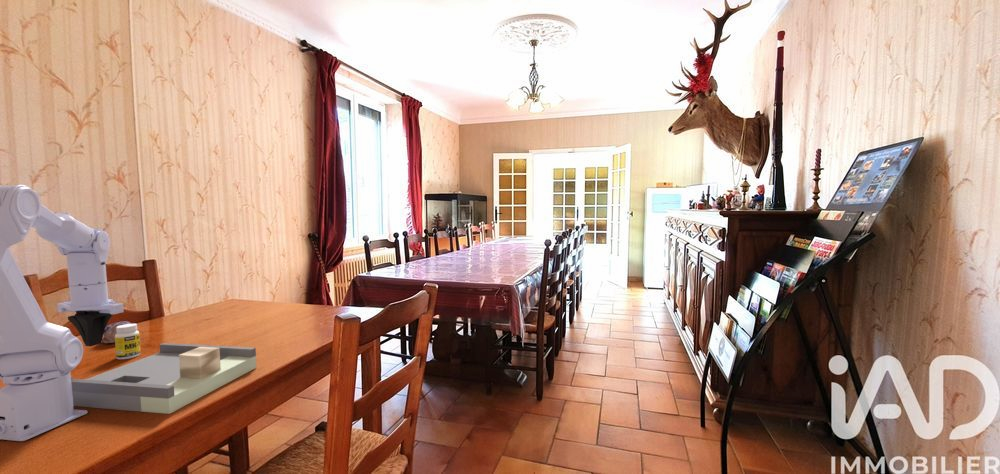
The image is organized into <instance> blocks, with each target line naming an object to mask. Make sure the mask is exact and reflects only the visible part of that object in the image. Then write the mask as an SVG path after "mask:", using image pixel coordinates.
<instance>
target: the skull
mask: <svg viewBox="0 0 1000 474" xmlns="http://www.w3.org/2000/svg"><path fill="white" fill-rule="evenodd" d="M125 324H132V323H131V322H130V321H123V320H122V321H118V322H114V323H111V324H109V325H108V324H107V325H106V328H105V331H104V334H103V338H102V342H101V343H104V344H113V343H114V344H115V335H116V334H117V332H116V327H117V326H120V325H125Z"/></svg>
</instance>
